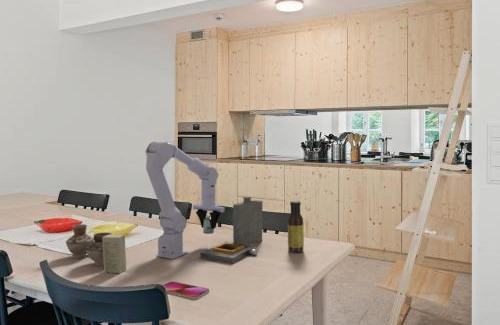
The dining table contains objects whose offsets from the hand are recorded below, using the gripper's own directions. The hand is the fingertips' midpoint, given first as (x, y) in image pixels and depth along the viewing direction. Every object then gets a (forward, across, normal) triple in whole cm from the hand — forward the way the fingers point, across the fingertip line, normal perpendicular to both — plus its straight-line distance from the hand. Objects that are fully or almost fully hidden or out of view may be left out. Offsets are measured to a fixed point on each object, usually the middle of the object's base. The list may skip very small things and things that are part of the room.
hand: (208, 227), depth 169 cm
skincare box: (+8, +10, +42) cm, 44 cm away
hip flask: (+8, -12, -12) cm, 19 cm away
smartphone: (+8, -21, +45) cm, 50 cm away
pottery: (+8, +27, +37) cm, 46 cm away
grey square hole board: (+8, -15, +7) cm, 19 cm away
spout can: (+2, 0, 0) cm, 2 cm away
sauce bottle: (+8, -35, -10) cm, 37 cm away
